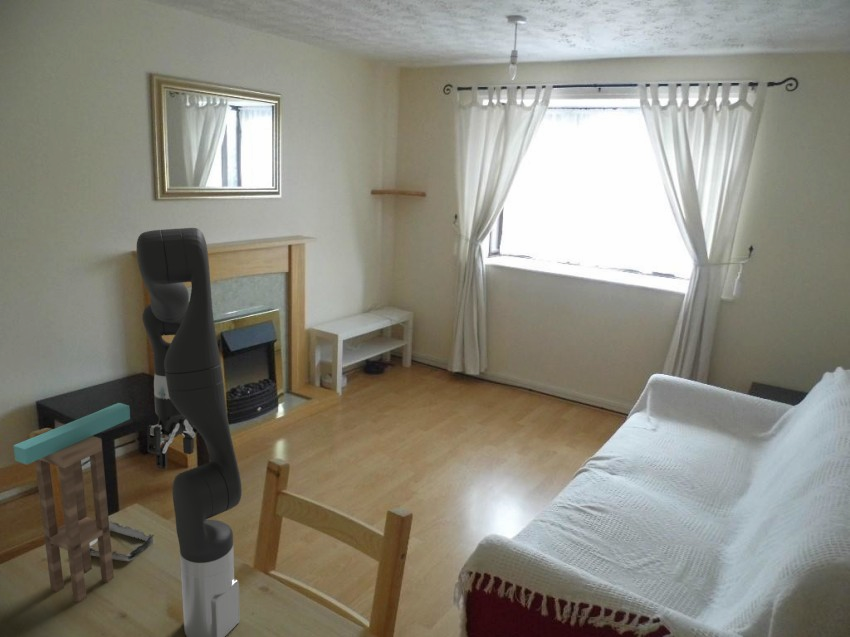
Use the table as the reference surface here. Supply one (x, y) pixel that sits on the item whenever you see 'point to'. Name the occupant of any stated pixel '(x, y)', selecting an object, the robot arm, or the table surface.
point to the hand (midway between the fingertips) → (175, 460)
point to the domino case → (70, 433)
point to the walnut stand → (75, 515)
